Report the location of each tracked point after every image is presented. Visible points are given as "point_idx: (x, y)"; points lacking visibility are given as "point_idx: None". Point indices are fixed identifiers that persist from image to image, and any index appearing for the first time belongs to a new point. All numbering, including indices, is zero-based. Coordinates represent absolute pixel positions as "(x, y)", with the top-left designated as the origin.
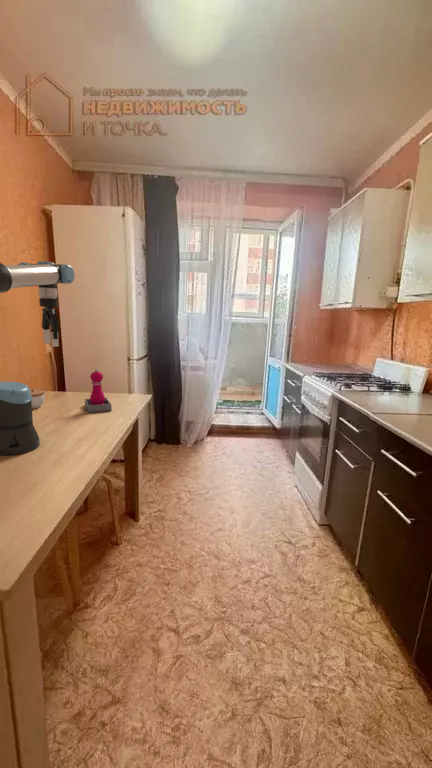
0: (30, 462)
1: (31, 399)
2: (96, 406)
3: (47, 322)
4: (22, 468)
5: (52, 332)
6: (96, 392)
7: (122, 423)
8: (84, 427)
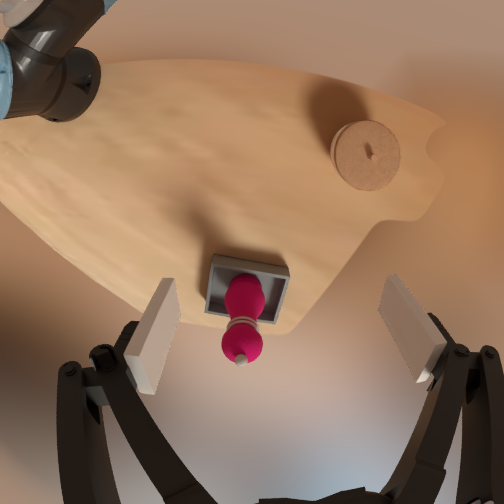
0: None
1: (334, 140)
2: (209, 280)
3: (416, 434)
4: None
5: (127, 356)
6: (230, 308)
7: (113, 285)
8: (113, 214)
